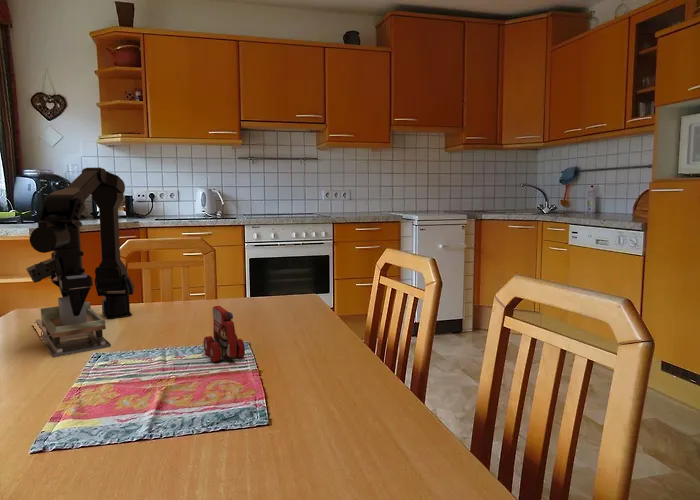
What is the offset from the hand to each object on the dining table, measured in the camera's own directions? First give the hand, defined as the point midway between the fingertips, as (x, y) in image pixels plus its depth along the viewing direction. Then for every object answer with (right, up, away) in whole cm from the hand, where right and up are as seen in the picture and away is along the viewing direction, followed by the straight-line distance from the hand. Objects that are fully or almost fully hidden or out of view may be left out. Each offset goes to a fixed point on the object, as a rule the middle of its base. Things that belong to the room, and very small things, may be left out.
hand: (72, 312), depth 126 cm
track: (-5, -7, +7) cm, 11 cm away
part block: (0, -3, 0) cm, 3 cm away
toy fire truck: (+39, -9, -10) cm, 41 cm away
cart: (0, -6, +1) cm, 6 cm away
